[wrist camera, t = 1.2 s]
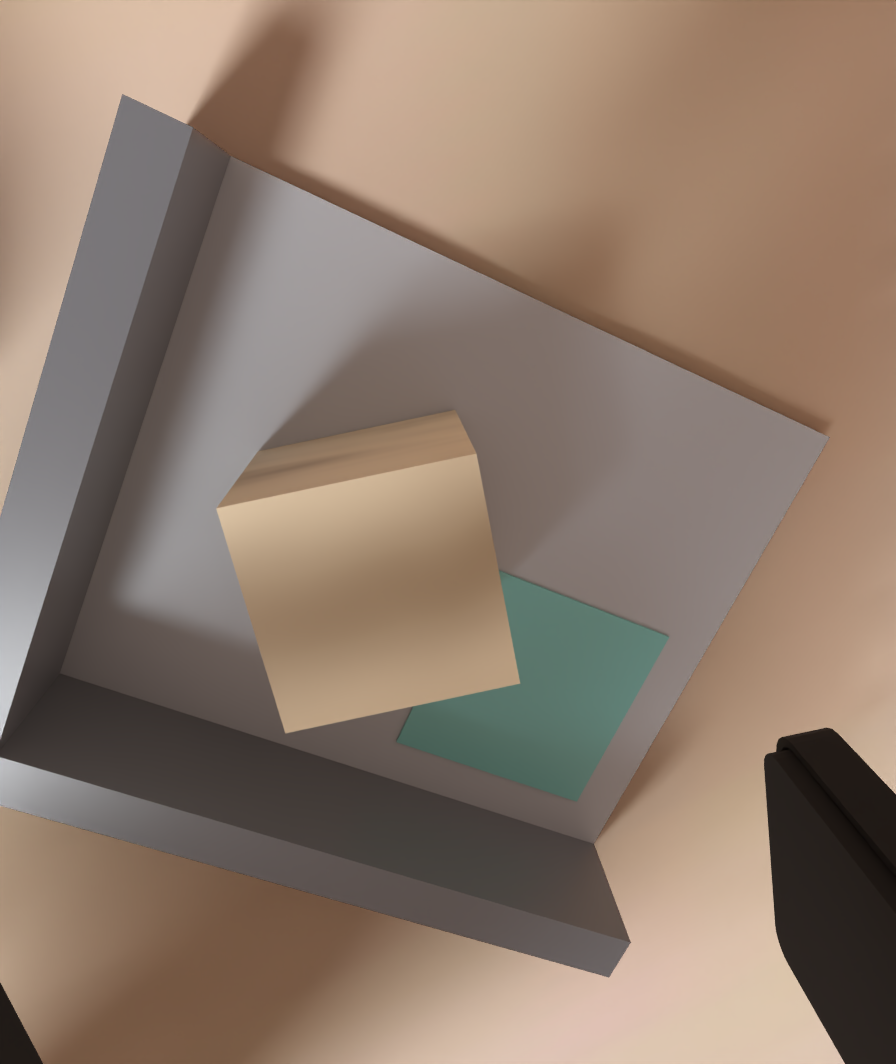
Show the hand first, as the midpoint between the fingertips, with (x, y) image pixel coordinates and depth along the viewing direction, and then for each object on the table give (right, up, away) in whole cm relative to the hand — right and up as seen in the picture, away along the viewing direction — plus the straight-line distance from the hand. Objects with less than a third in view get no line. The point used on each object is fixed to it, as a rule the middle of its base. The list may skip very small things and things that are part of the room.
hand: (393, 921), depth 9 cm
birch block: (-1, +5, +15) cm, 16 cm away
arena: (-1, +4, +16) cm, 17 cm away
